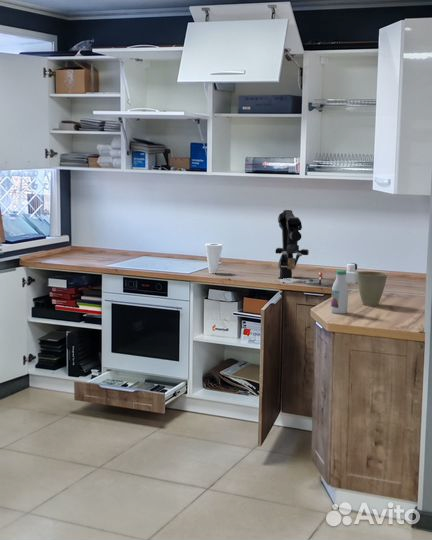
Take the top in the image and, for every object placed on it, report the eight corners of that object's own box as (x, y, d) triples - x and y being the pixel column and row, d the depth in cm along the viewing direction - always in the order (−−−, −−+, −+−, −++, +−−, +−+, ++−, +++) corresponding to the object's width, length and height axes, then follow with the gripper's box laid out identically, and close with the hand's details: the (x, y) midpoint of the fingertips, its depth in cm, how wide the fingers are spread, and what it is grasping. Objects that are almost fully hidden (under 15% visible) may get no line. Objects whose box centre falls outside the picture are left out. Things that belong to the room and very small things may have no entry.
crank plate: (296, 284, 448) (296, 277, 447) (310, 281, 458) (310, 275, 458) (319, 287, 438) (319, 280, 437) (333, 285, 448) (333, 278, 447)
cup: (201, 272, 482) (202, 243, 479) (217, 271, 486) (218, 243, 484) (208, 275, 472) (209, 245, 470) (224, 274, 477) (225, 245, 474)
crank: (311, 284, 443) (311, 275, 442) (300, 281, 450) (300, 273, 449) (327, 282, 450) (327, 273, 450) (315, 280, 457) (316, 271, 457)
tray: (279, 282, 452) (279, 279, 452) (289, 281, 459) (289, 278, 459) (292, 284, 446) (292, 281, 446) (301, 283, 453) (301, 280, 453)
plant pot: (364, 300, 401) (365, 270, 399) (390, 304, 392) (392, 273, 390) (349, 304, 390) (351, 273, 387) (376, 308, 380) (378, 276, 378)
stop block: (287, 268, 450) (287, 258, 449) (288, 268, 454) (288, 257, 453) (294, 269, 449) (294, 259, 448) (295, 268, 453) (295, 258, 452)
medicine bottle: (347, 282, 462) (348, 262, 460) (358, 283, 458) (360, 263, 456) (343, 283, 455) (344, 263, 454) (354, 285, 452) (355, 264, 450)
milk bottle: (345, 311, 372) (347, 269, 369) (348, 314, 364) (351, 272, 361) (329, 310, 372) (331, 269, 369) (332, 313, 364) (334, 271, 361)
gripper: (274, 239, 443) (273, 267, 445) (307, 241, 439) (306, 269, 442) (277, 238, 454) (276, 264, 456) (309, 239, 450) (308, 266, 452)
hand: (291, 266), depth 451 cm, fingers closed on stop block, 4 cm apart
